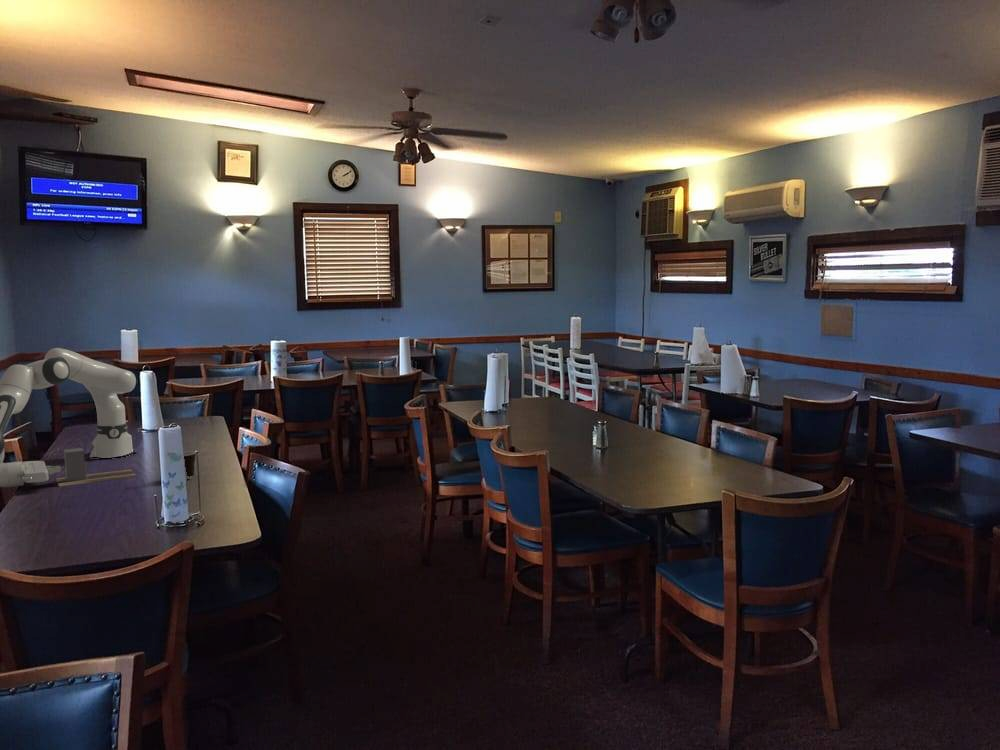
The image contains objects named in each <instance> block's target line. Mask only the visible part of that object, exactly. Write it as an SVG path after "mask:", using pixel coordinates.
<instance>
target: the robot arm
mask: <svg viewBox="0 0 1000 750" xmlns="http://www.w3.org/2000/svg"><path fill="white" fill-rule="evenodd" d="M67 380H71V381H73V382H75V383H79V384H82V385H83V386H84V387H85V388H86V390H87V391H88V392H89V394H90V395H91V397H92V399H93V401H94V404H95V405H94V406H95V408H96V418H97V419H96V420H97V425H96V428H95V429H96V434H97V435H96V436H95V437H94V439H93V440H92V441H91V447H92V450H91V452H90V454H89V458H90V457H100V458H111V457H117V456H123V455H126V454H129V453H131V452H133V450H134V449H133V440H132V439H133V437H132V434H130V433H128V424H127V422H126V419H127V418H126V406H125V403H123V402H122V401H121V400H120V399H119V397H118V395H122V394H126V393H130V392H132V391H133V390H134V389H135V387H136V384H137V378H136V375H135V374H134V372H132V371H131V370H127V369H124V368H120V367H118V366H116V365H112V364H108V363H105V362H101V361H99V360H95V359H92V358H90V357H88V356H84V355H83V354H80V353H77V352H75V351H72V350H70V349H65V348H61V347H55V348H51V349H50V350H49V351H47V352H46V354H45V356H44V358H43V359H40V360H36V361H33V362H30V363H25V364H12V365H11V366H9V367H8V368H7V369H6V371H5V372H4V374H3V375H2V376H1V378H0V488H13V487H23V486H24V483H26V484H27V483H28V484H31V483H40V482H41V483H43V482H47V481H49V479H50V478H49V475H52V474H57V473H61V472H62V467H61V465H46V463H45V461H44V460H28V461H22V460H15V461H13V462H12V461H11V462H4V459H5V437H4V433H5V431H6V428H7V425H8V424H9V421H10V419H11V416H12V415H15V414H19V413H21V412H22V411H23V409H24V408H25V406H26V405H27V403H28V401H29V399H30V396H31V393H32V391H34V390H41V389H46V388H47V389H48V388H50V387H53V386H55V385H56V386H57V385H61V384H63V383H64V382H66V381H67Z"/></svg>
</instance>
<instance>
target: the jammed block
mask: <svg viewBox="0 0 1000 750" xmlns="http://www.w3.org/2000/svg"><path fill="white" fill-rule="evenodd" d="M84 451H85V450H84V448H83V447H77V448H67V449H66V448H65V449H63V455H64V458H63V459H64V469H65V470H64V471H65V477H66V481H65V482H71V481H79V480H87V478H85V475H86V467H85V466H86V465H85V464H86V463H85V452H84Z"/></svg>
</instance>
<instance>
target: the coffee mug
mask: <svg viewBox="0 0 1000 750" xmlns="http://www.w3.org/2000/svg"><path fill="white" fill-rule="evenodd" d="M183 451H184V459H185V467H186V472H187V476H189V477H190V476H193V475H194V476H195V468H196V454H197V453H196V451H192V450H191V451H190V450H189V451H188V450H186V451H185V450H183Z"/></svg>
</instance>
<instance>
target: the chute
mask: <svg viewBox="0 0 1000 750" xmlns="http://www.w3.org/2000/svg"><path fill="white" fill-rule="evenodd" d="M85 478H86V480H79V481H71V482H66V476H65V477H58V478H56V479H55V480H56V482H57V486H58V487H67V486H72V485H73V486H75V485H80V484H81V485H82V484H89V483H95V482H96V483H97V482H105V481H113V480H119V479H129V478H137V474H136V473H133V469H124V470H115V471H108V472H99V473H90V474H85Z"/></svg>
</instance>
